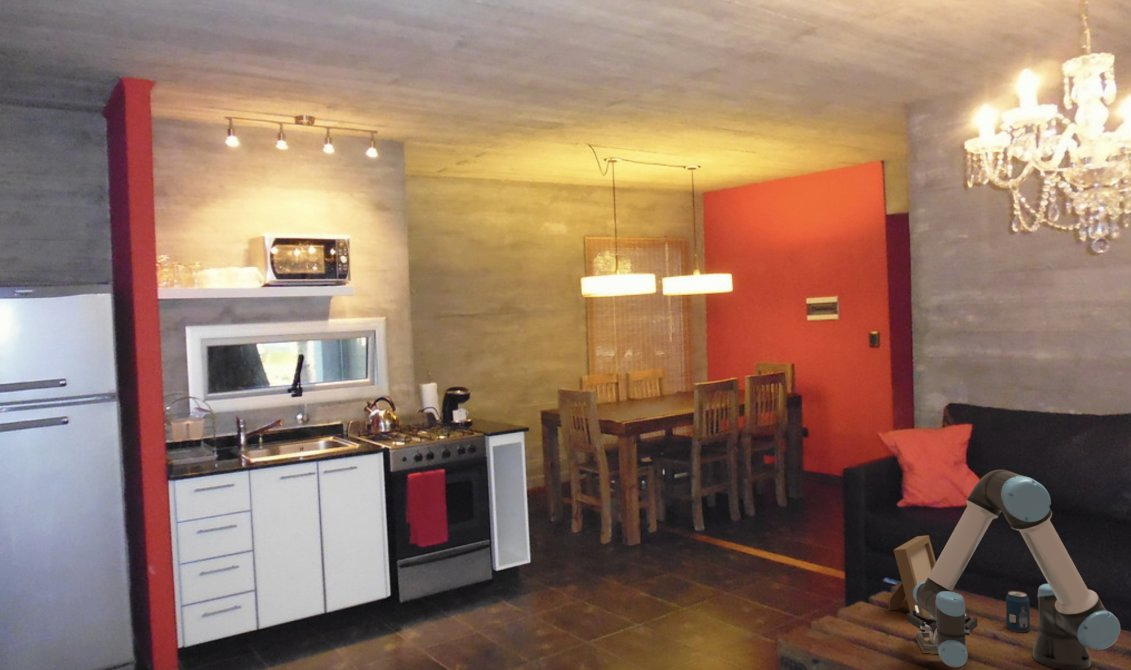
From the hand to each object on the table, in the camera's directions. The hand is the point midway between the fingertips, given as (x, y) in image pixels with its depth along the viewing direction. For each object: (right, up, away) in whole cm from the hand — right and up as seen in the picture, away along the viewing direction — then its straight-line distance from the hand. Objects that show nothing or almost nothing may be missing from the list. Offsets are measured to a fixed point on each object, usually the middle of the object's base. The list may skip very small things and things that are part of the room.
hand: (938, 611), depth 270 cm
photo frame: (+5, -10, +30) cm, 32 cm away
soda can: (+31, -9, +10) cm, 34 cm away
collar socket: (-1, -11, -3) cm, 11 cm away
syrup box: (-1, -10, -3) cm, 10 cm away
